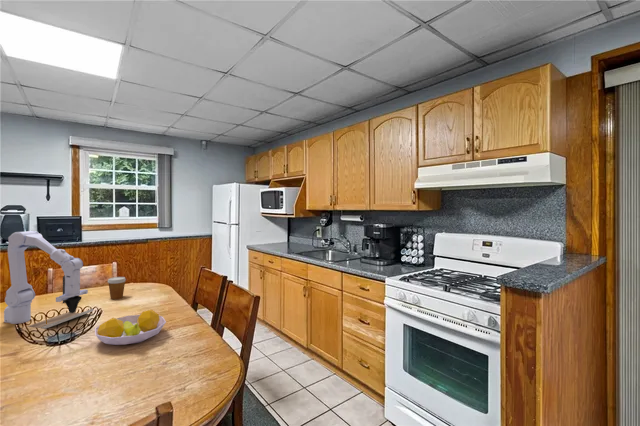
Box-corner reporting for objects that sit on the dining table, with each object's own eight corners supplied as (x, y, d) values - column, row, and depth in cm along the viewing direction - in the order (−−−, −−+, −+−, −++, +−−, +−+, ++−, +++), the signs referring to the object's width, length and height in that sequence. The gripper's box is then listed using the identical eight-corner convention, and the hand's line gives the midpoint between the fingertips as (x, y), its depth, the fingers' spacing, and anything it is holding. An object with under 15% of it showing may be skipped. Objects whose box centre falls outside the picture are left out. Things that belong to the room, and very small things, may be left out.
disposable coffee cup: (108, 296, 195) (109, 277, 194) (126, 295, 199) (127, 276, 198) (105, 301, 186) (106, 280, 186) (124, 299, 190) (124, 279, 190)
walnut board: (26, 329, 143) (26, 326, 143) (68, 314, 163) (68, 312, 163) (39, 330, 142) (39, 327, 142) (80, 315, 162) (80, 313, 162)
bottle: (64, 304, 178) (64, 269, 177) (61, 302, 182) (61, 267, 182) (79, 301, 183) (79, 267, 183) (75, 299, 187) (75, 266, 187)
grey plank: (41, 330, 142) (40, 327, 142) (81, 315, 162) (80, 312, 162) (54, 325, 141) (53, 322, 141) (93, 310, 160) (93, 308, 160)
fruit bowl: (104, 330, 144) (104, 305, 144) (169, 324, 153) (169, 301, 153) (80, 358, 118) (80, 328, 117) (160, 349, 127) (161, 321, 126)
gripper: (64, 288, 142) (64, 318, 143) (93, 281, 157) (93, 308, 157) (51, 287, 144) (51, 317, 144) (81, 280, 158) (80, 307, 158)
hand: (72, 312), depth 151 cm, fingers closed
